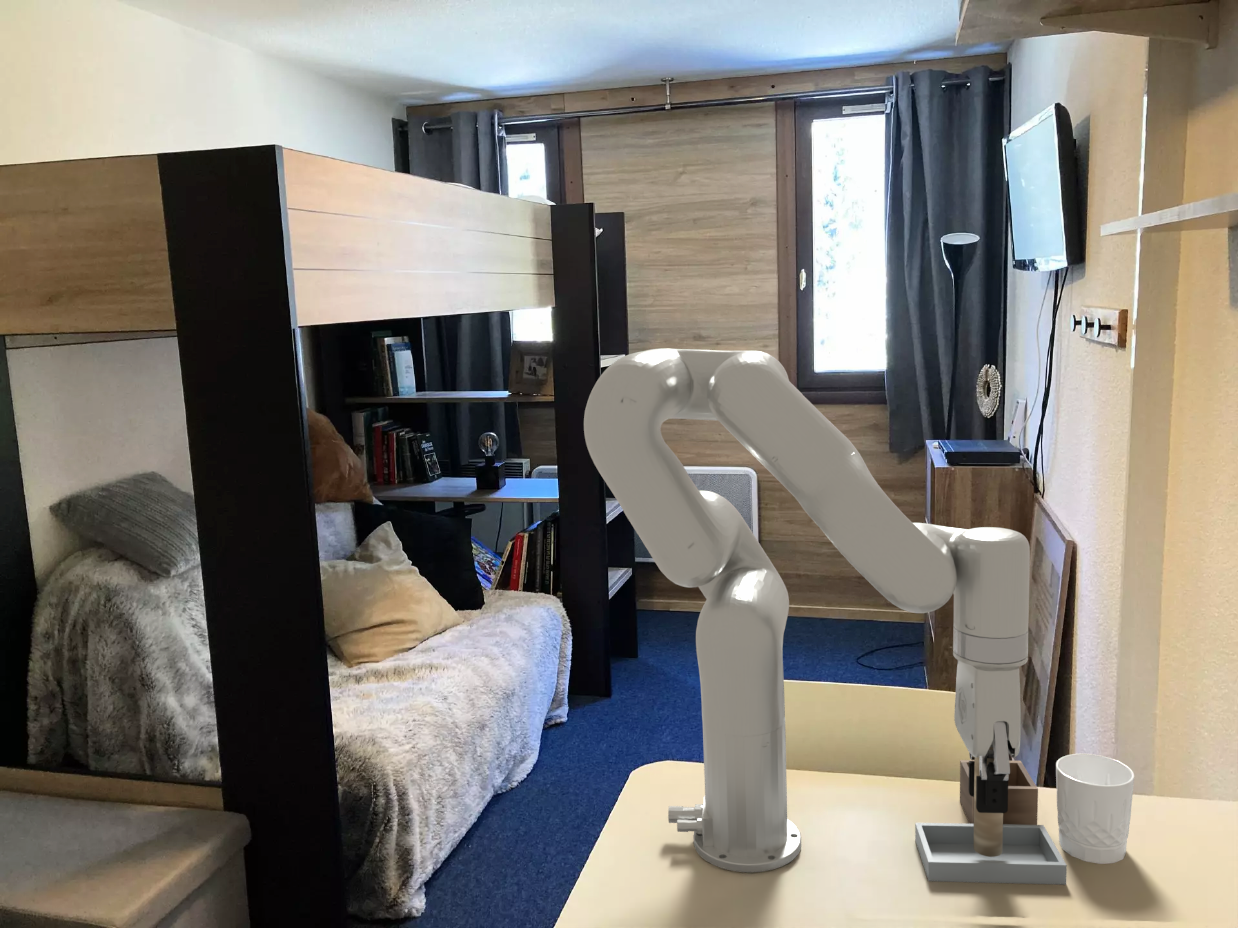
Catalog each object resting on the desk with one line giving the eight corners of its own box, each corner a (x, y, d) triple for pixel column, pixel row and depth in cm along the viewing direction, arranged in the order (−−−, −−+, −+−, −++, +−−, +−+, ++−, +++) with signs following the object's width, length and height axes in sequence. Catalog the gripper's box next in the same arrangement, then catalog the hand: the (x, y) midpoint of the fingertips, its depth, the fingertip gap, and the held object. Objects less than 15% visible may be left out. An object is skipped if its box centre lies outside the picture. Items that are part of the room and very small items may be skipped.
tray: (928, 885, 107) (928, 861, 107) (915, 844, 115) (915, 822, 115) (1066, 889, 105) (1066, 864, 105) (1042, 847, 113) (1043, 824, 113)
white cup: (1140, 873, 107) (1143, 787, 106) (1062, 868, 109) (1065, 783, 107) (1119, 835, 115) (1122, 754, 113) (1047, 831, 117) (1049, 751, 115)
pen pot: (973, 835, 116) (973, 787, 115) (959, 804, 123) (960, 759, 122) (1036, 836, 115) (1037, 788, 115) (1019, 805, 123) (1020, 760, 122)
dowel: (976, 856, 108) (978, 753, 107) (970, 841, 111) (972, 741, 110) (1005, 856, 108) (1007, 753, 106) (998, 842, 111) (1000, 741, 109)
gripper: (939, 619, 114) (938, 768, 117) (971, 671, 99) (969, 842, 101) (1006, 619, 114) (1003, 769, 116) (1050, 671, 98) (1045, 843, 100)
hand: (987, 801), depth 109 cm, fingers closed on dowel, 2 cm apart
